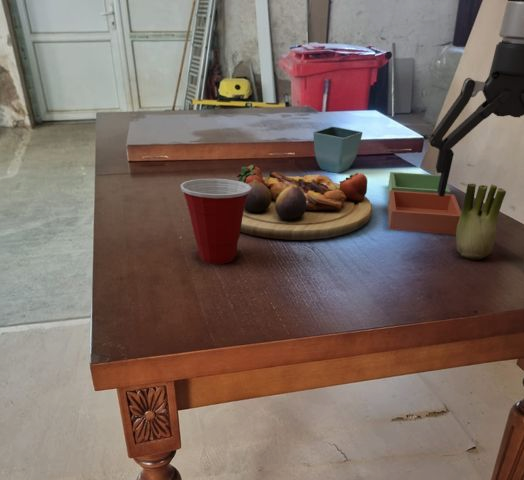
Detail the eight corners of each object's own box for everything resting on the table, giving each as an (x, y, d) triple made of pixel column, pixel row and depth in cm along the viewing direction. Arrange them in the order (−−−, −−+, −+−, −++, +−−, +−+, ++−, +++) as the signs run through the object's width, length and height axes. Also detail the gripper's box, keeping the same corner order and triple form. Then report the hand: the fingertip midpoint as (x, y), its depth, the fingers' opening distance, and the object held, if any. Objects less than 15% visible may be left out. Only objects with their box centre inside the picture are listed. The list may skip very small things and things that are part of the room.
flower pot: (340, 177, 125) (344, 137, 120) (309, 170, 129) (312, 131, 124) (358, 169, 130) (363, 131, 125) (329, 163, 135) (332, 126, 130)
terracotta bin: (450, 212, 106) (454, 194, 104) (458, 235, 96) (463, 216, 94) (387, 207, 108) (389, 190, 106) (388, 229, 97) (392, 211, 95)
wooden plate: (370, 192, 116) (375, 153, 111) (373, 249, 90) (380, 202, 85) (228, 182, 119) (227, 144, 115) (191, 235, 93) (189, 189, 89)
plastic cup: (260, 249, 89) (261, 177, 82) (236, 275, 81) (236, 198, 74) (201, 240, 92) (198, 170, 85) (173, 264, 83) (167, 189, 77)
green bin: (440, 191, 117) (443, 175, 115) (446, 208, 108) (450, 191, 106) (387, 187, 119) (390, 171, 117) (389, 204, 109) (392, 187, 107)
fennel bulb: (447, 252, 89) (464, 181, 83) (468, 247, 91) (486, 178, 84) (472, 265, 85) (492, 192, 78) (494, 260, 87) (515, 188, 80)
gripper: (435, 39, 69) (405, 198, 81) (638, 47, 66) (576, 211, 78) (429, 35, 75) (403, 184, 87) (615, 43, 72) (561, 196, 84)
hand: (484, 197), depth 83 cm, fingers open, 13 cm apart
